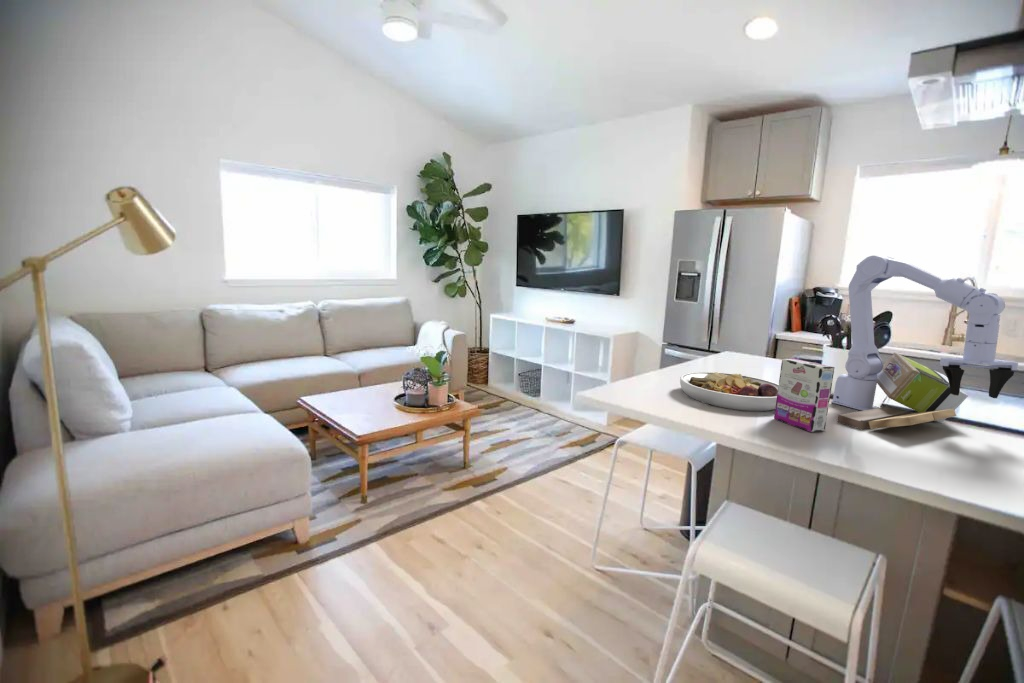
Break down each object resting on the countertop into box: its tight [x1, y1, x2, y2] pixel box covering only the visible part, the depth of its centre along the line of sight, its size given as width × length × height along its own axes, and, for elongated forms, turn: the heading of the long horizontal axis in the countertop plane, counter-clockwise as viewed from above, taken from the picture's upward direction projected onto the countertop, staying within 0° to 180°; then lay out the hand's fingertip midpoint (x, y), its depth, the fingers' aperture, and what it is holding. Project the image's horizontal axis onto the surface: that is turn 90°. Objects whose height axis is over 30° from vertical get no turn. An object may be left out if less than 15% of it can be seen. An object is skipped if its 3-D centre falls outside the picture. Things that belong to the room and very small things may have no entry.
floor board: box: [836, 405, 914, 430], centre depth 129 cm, size 6×24×2 cm, turn 116°
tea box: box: [877, 352, 969, 424], centre depth 136 cm, size 15×10×15 cm
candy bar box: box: [773, 358, 835, 433], centre depth 122 cm, size 11×5×16 cm, turn 21°
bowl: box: [679, 371, 779, 412], centre depth 146 cm, size 30×30×8 cm
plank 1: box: [869, 413, 935, 430], centre depth 120 cm, size 9×11×2 cm
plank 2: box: [896, 409, 957, 421], centre depth 124 cm, size 9×11×2 cm
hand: (973, 396), depth 121 cm, fingers open, 7 cm apart
